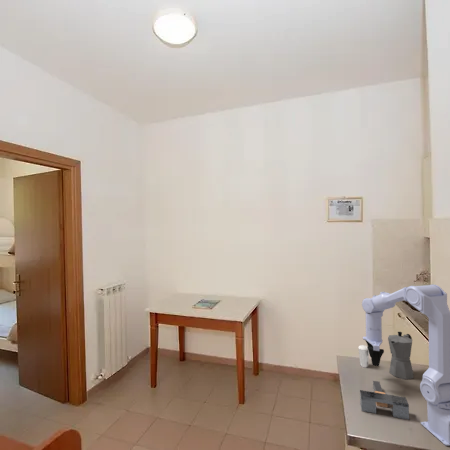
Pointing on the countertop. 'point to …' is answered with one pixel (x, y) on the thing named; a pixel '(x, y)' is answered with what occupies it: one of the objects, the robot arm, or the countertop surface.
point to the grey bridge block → (397, 403)
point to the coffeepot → (401, 355)
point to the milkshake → (363, 355)
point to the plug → (378, 389)
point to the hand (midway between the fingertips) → (374, 361)
